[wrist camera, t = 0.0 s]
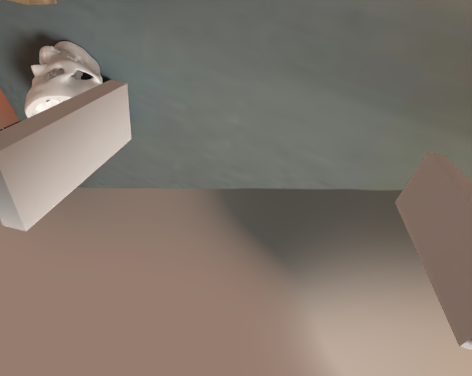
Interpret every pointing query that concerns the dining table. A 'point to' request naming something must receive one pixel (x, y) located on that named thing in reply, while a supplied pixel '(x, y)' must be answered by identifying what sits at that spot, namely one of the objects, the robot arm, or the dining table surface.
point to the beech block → (35, 2)
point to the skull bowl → (60, 76)
